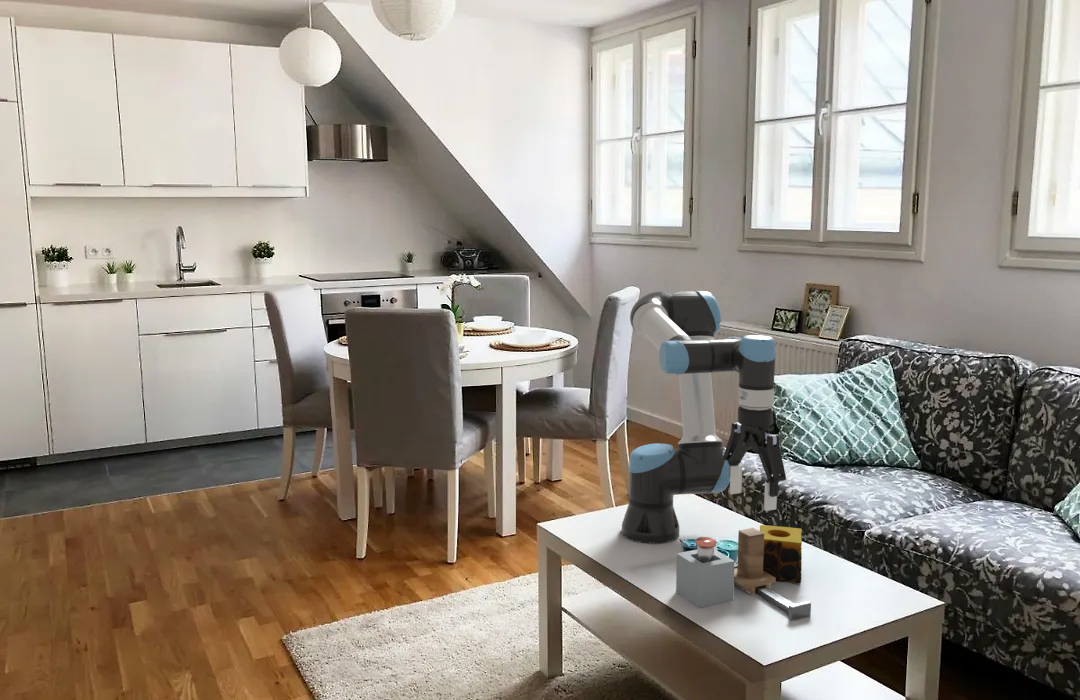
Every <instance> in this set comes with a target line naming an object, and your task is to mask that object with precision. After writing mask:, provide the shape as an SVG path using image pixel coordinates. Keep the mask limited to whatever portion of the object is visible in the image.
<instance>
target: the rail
mask: <svg viewBox="0 0 1080 700" xmlns="http://www.w3.org/2000/svg"><path fill="white" fill-rule="evenodd" d="M737 566H738V563H735V564H734V569H736V568H737ZM754 595H756V596H758V597H760V598H761V599H763V600H765V601H766V602H768V603H769V604H771V606H772V605H773V606H774V607H775V608H777V609H778V610H780V611H782V612H783V613H785V614H787V615H788V616H787V617H788V620H789V621H797V620H801V619H805V618H808V617H811V615H812V602H811V601H809V600H805V601H802V602H797V603H794V602H793V601H791V600H790V599H788V598H785V597H784V596H782V594H781V595H780V594H779V593H777V592H775V591H774V590H773V589H771V588H770V589H769V588H767V587H766V586H764V585H763V586H758V587H755V594H754Z"/></svg>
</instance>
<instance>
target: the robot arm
mask: <svg viewBox="0 0 1080 700" xmlns="http://www.w3.org/2000/svg"><path fill="white" fill-rule="evenodd" d="M721 317H722V316H721V309H720V305H719V303H718V301H717V298H715V295H714V294H713V293H711V292H710V291H707V290H706V291H705V290H696V289H695V290H674V291H663V290H662V291H655V292H650V293H648V294H645V295H643V296H642V297H640V299H638V300H637V301H636V302H635V303H634V305H633V307H632V308H631V311H630V314H629V321H630V325H631V327H632V330H633V331H635V332H636V334H637V335H638V336H639V337H641V338H643V339H647V340H648V341H649V342H650V343H651V344H652V345H653V346H654V347H655V349H656V350H658V353H659V354H658V355H659V356H658V357H659V365H660V368H661V370H662V372H663V373H664V374H668V375H669V374H670V375H672V374H673V375H678V379H679V380H678V382H679V395H680V408H681V409H680V410H681V411H680V412H681V422H682V423H681V424H682V438H681V439H680V440H679V441H678V443H677V449H675V447H674V446H673V445H672V444H669V443H657V442H656V443H649V444H644V445H641V446H637V447H636V448H635V449H633V450H632V451H631V452H630V454H629V462H628V467H627V469H628V505H627V507H626V511H625V514H624V517H623V520H622V523H621V534H622V536H624V537H625V538H627V539H628V540H630V541H633V542H638V543H644V544H662V543H668V542H673V541H675V540H676V539H678V538H679V536H680V524H679V520H678V516H677V513H676V511H675V508H674V496H675V495H676V496H677V495H696V494H697V495H698V494H699V495H700V494H709V495H710V494H712V493H713V494H715V493H721V492H724V491H725V490H726V489H727V487H728V485H729V494H730V495H735V494H736V495H737V494H741V493H742V483H743V482H742V481H743V480H742V479H743V465H742V460H743V458H744V457H745V456H746V453H747V452H748V450H749V448H751V449H753V450H754V451H755V453H756V454H758V457H759V460H760V462H761V465H762V469H763V471H764V473H765V476H766V478H767V479H766V480H765V481H764V499H763V500H764V501H763V510H764V512H765V511H766V512H768V511H773V510H777V499H778V498H777V497H778V495H779V484H780V483H779V482H783V481H786V480H787V475H786V470H785V465H784V462H783V457H782V453H781V452H782V451H781V448H780V447H781V446H780V435H779V434H771V433H770V430H769V429H770V426H771V425H772V424H773V423H774V408H773V406H774V403H775V402H774V401H775V370H776V369H775V368H776V356H777V352H776V351H777V350H776V341H775V338H773V337H772V336H769V335H761V334H760V335H759V334H750V335H749V334H748V335H743V336H742V337H741V336H729V337H727V338H724V339H723V338H722V339H715V334H717V333H718V332H720V329H721V321H722V318H721ZM712 373H713V374H714V373H737V374H738V401H737V402H738V404H739V406H738V408H737V422H732V423H731V427H730V429H731V430H730V434H729V438H728V440H727V444H726V447H725V446H723V440H722V439H721V438H720V437H719V436H718V435H717V433H716V419H715V417H716V416H715V404H714V394H713V392H714V391H713V381H712Z"/></svg>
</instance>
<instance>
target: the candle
mask: <svg viewBox="0 0 1080 700" xmlns="http://www.w3.org/2000/svg"><path fill="white" fill-rule="evenodd" d="M759 531H760V532H762V533H764V555H763V571H765V572H767V573H768V574H770V575H772V576H774V577H775V578H776V581H775V582H781V583H791V584H796V585H800V584H802V563H803V562H802V561H803V560H802V559H803V558H802V557H803V556H802V554H803V553H802V546H803V545H802V544H803V541H802V532H803V531H802V528H798V527H789V526H776V525H765V524H760V525H759Z"/></svg>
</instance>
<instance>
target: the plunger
mask: <svg viewBox="0 0 1080 700" xmlns="http://www.w3.org/2000/svg"><path fill="white" fill-rule="evenodd" d="M695 545H696V548H697V549H696V550H697V560H698V561H700V562H701V563H705V562H710V561H714V549H715V547H716V545H717V540H716V539H715V538H713V537H709V536H701V537H696V538H695Z"/></svg>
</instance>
